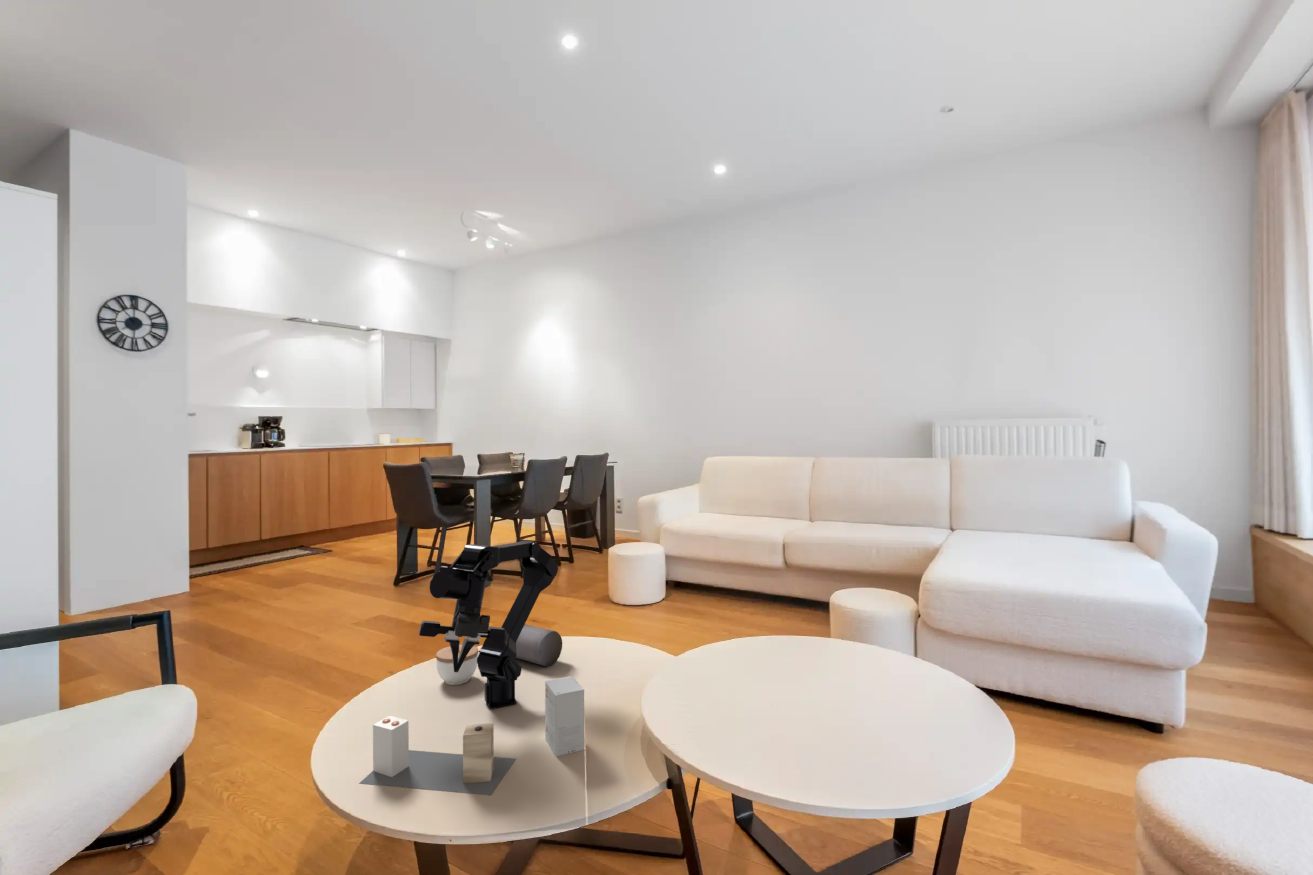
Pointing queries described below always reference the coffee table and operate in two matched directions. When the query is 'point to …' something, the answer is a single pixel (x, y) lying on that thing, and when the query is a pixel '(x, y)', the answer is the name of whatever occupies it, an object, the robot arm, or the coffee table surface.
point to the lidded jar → (447, 668)
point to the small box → (564, 715)
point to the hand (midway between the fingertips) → (455, 671)
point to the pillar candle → (538, 645)
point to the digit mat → (440, 774)
